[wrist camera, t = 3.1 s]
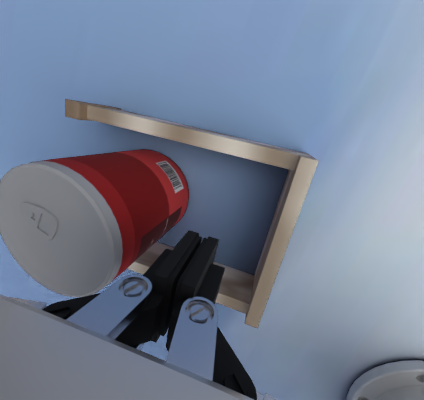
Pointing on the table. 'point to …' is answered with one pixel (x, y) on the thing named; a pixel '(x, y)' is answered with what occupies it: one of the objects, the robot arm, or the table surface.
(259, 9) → the table surface
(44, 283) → the canned food
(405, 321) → the table surface
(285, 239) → the wooden frame
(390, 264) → the table surface
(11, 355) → the robot arm
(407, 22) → the table surface
